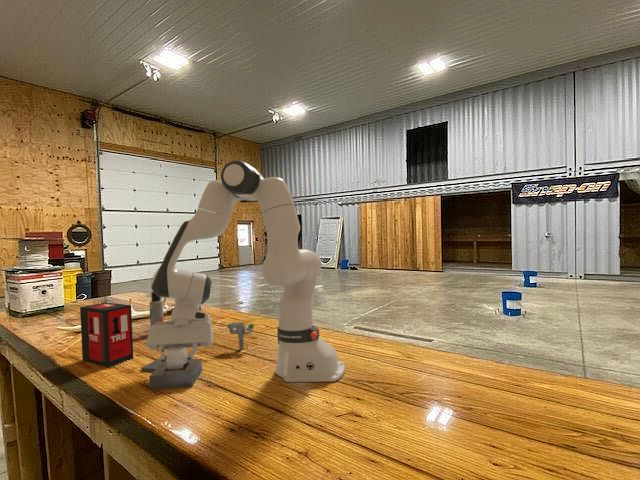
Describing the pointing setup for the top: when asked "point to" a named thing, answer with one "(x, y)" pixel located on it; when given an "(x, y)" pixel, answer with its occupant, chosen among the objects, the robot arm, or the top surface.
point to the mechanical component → (240, 331)
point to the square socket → (176, 375)
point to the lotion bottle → (156, 309)
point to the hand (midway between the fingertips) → (176, 359)
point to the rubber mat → (152, 366)
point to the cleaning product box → (106, 333)
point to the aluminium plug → (176, 358)
